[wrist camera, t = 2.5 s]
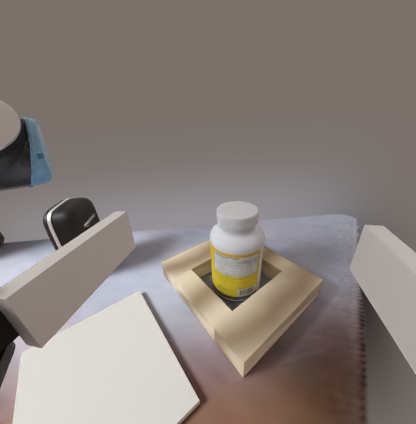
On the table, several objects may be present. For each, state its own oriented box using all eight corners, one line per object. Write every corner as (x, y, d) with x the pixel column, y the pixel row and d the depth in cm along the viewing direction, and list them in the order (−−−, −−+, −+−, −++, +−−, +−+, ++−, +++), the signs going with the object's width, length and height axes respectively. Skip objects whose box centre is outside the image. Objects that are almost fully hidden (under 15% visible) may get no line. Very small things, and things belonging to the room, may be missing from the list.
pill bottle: (236, 261, 30) (238, 194, 25) (269, 286, 26) (280, 210, 20) (202, 281, 27) (197, 207, 22) (234, 314, 22) (236, 230, 17)
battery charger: (99, 281, 28) (70, 212, 23) (71, 285, 27) (35, 215, 22) (113, 252, 34) (93, 192, 29) (91, 254, 33) (67, 194, 28)
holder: (164, 275, 28) (161, 262, 27) (231, 239, 36) (231, 228, 35) (243, 377, 17) (244, 362, 16) (318, 293, 24) (323, 279, 23)
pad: (24, 356, 19) (21, 352, 19) (140, 293, 25) (139, 290, 25) (-5, 615, 9) (-12, 615, 9) (199, 403, 15) (199, 400, 15)
